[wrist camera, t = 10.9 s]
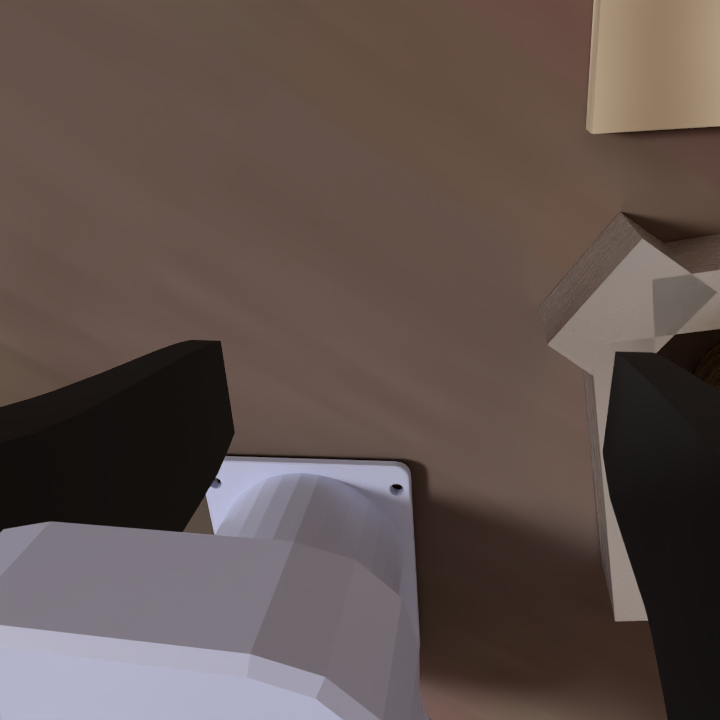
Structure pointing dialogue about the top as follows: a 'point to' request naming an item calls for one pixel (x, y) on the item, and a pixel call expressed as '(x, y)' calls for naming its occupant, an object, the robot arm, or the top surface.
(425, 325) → the top surface
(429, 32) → the top surface
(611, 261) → the grey angled bracket
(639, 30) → the beige plate with hole
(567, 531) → the top surface
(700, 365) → the brass axle
